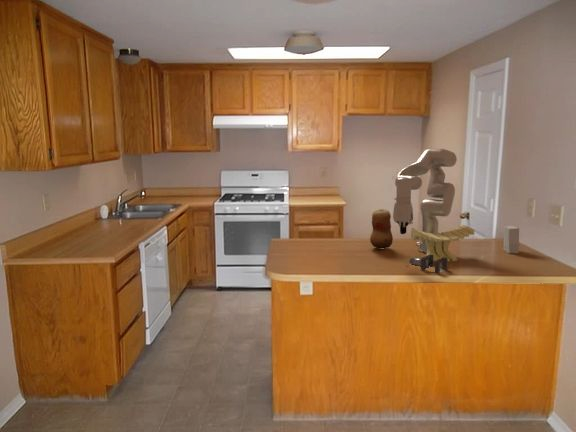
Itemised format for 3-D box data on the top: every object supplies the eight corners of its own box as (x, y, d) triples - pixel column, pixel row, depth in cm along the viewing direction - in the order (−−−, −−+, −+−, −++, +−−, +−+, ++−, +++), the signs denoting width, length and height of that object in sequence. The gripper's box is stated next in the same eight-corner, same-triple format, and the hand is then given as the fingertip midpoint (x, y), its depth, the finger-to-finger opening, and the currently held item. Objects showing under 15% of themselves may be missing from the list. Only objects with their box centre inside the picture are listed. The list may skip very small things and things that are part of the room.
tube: (409, 265, 247) (409, 257, 246) (413, 263, 250) (413, 256, 249) (425, 269, 240) (425, 261, 239) (429, 267, 243) (430, 259, 242)
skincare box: (518, 253, 263) (520, 228, 260) (508, 253, 263) (509, 228, 260) (512, 249, 271) (514, 225, 268) (502, 249, 272) (503, 225, 269)
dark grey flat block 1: (420, 269, 239) (420, 258, 238) (429, 265, 245) (429, 254, 244) (424, 270, 238) (424, 258, 237) (433, 266, 244) (433, 254, 243)
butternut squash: (368, 251, 281) (367, 211, 276) (372, 245, 293) (372, 207, 288) (390, 252, 276) (390, 212, 271) (394, 246, 288) (394, 208, 283)
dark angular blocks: (434, 272, 233) (434, 258, 232) (443, 268, 240) (443, 254, 238) (438, 273, 232) (438, 259, 231) (447, 269, 238) (447, 255, 237)
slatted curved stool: (460, 253, 268) (461, 223, 265) (473, 260, 253) (474, 229, 249) (410, 256, 266) (411, 226, 263) (420, 264, 251) (420, 232, 247)
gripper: (387, 200, 248) (387, 233, 252) (412, 202, 238) (411, 236, 241) (395, 198, 253) (395, 230, 257) (419, 200, 243) (419, 234, 246)
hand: (403, 233), depth 249 cm, fingers closed
